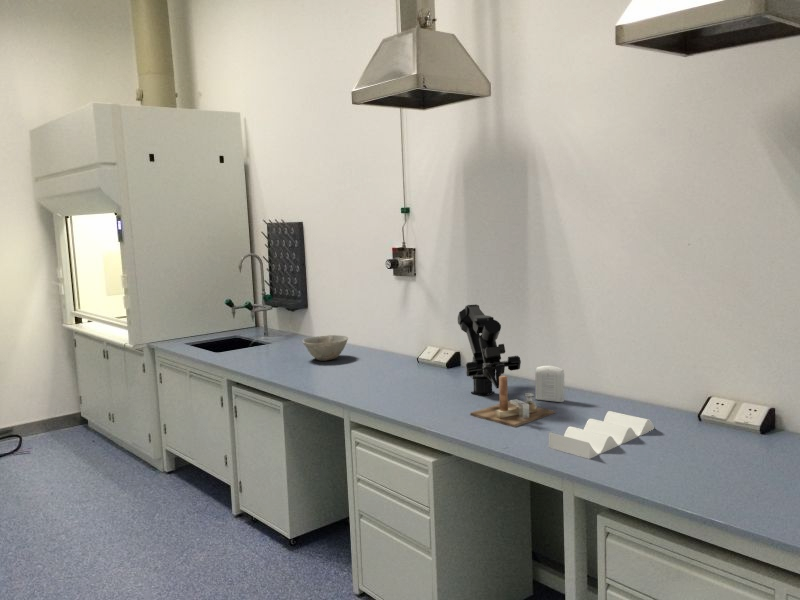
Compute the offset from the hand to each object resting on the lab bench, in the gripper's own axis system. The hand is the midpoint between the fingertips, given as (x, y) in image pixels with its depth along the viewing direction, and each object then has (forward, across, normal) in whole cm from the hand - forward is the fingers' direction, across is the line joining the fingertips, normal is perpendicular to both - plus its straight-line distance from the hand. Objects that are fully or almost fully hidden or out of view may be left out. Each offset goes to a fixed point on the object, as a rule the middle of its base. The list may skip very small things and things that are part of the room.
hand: (497, 387), depth 227 cm
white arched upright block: (+2, +19, +13) cm, 23 cm away
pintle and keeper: (+12, +7, -3) cm, 14 cm away
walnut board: (+10, +3, 0) cm, 11 cm away
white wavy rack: (+30, +25, -18) cm, 43 cm away
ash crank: (+11, +4, -3) cm, 12 cm away
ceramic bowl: (-63, -69, +75) cm, 120 cm away
